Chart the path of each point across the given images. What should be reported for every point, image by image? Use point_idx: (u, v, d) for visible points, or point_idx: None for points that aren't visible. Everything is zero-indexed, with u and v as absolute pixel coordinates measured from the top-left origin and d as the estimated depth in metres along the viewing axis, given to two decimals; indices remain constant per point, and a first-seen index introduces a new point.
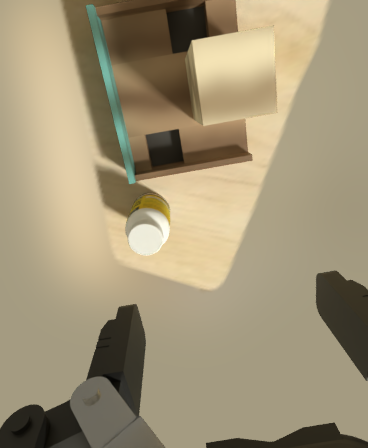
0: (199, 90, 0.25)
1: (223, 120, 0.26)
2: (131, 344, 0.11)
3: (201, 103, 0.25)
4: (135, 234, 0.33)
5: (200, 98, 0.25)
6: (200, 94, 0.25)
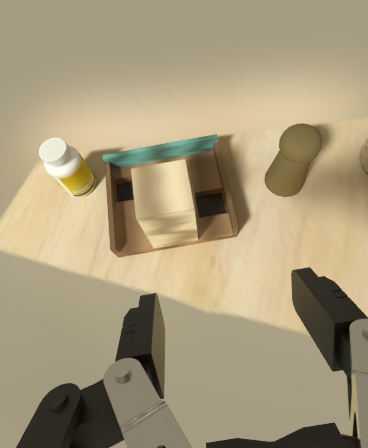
0: (154, 165, 0.35)
1: (133, 181, 0.34)
2: (155, 329, 0.11)
3: (146, 166, 0.35)
4: (58, 142, 0.41)
5: (149, 166, 0.35)
6: (152, 165, 0.35)
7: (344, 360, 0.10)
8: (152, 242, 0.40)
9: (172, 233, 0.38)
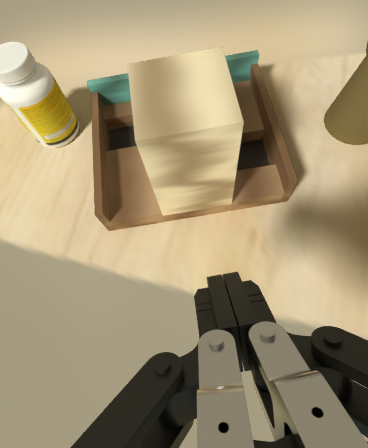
0: (169, 57, 0.20)
1: (131, 82, 0.19)
2: None
3: (154, 60, 0.20)
4: (16, 47, 0.27)
5: (159, 59, 0.20)
6: (164, 58, 0.20)
7: (249, 360, 0.10)
8: (161, 203, 0.25)
9: (194, 186, 0.24)
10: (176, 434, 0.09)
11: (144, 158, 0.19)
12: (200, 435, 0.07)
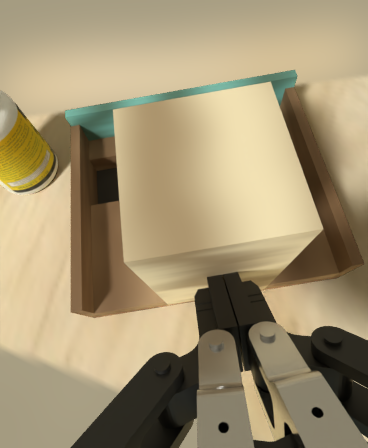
0: (181, 99, 0.12)
1: (119, 144, 0.11)
2: None
3: (157, 103, 0.12)
4: None
5: (166, 102, 0.12)
6: (174, 101, 0.12)
7: (250, 360, 0.10)
8: (166, 298, 0.17)
9: None
10: (176, 434, 0.09)
11: (141, 274, 0.11)
12: (200, 435, 0.07)
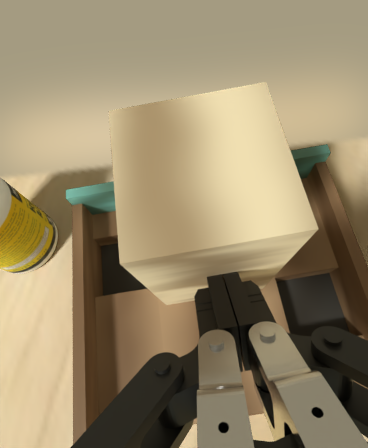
0: (177, 100, 0.12)
1: (115, 145, 0.11)
2: None
3: (152, 104, 0.12)
4: None
5: (162, 103, 0.12)
6: (169, 101, 0.12)
7: (250, 360, 0.10)
8: (164, 299, 0.17)
9: None
10: (176, 434, 0.09)
11: (138, 275, 0.11)
12: (200, 435, 0.07)
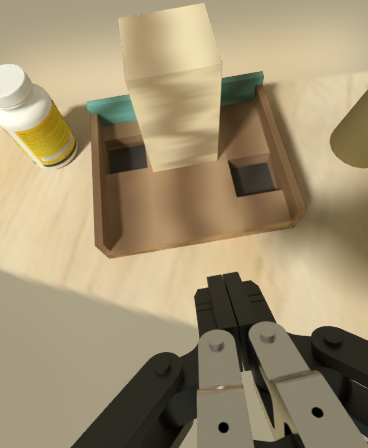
0: (156, 12, 0.22)
1: (122, 33, 0.21)
2: None
3: (142, 14, 0.22)
4: (13, 70, 0.25)
5: (147, 14, 0.22)
6: (151, 13, 0.22)
7: (250, 360, 0.10)
8: (151, 156, 0.27)
9: (181, 137, 0.26)
10: (176, 434, 0.09)
11: (134, 101, 0.21)
12: (200, 435, 0.07)
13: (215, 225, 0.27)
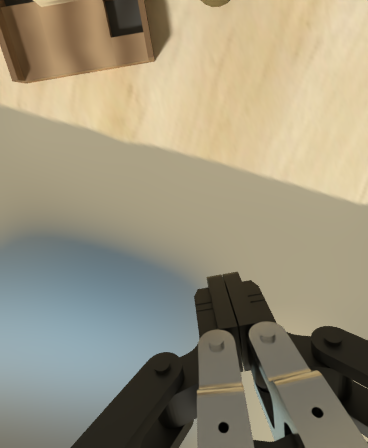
0: None
1: None
2: None
3: None
4: None
5: None
6: None
7: (250, 360, 0.10)
8: None
9: None
10: (176, 434, 0.09)
11: None
12: (200, 435, 0.07)
13: (96, 62, 0.39)
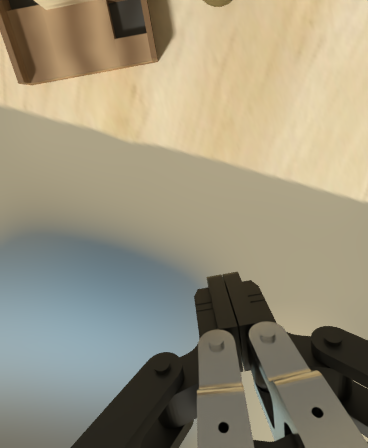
0: None
1: None
2: None
3: None
4: None
5: None
6: None
7: (250, 360, 0.10)
8: (39, 2, 0.34)
9: None
10: (176, 434, 0.09)
11: None
12: (200, 435, 0.07)
13: (100, 63, 0.39)
